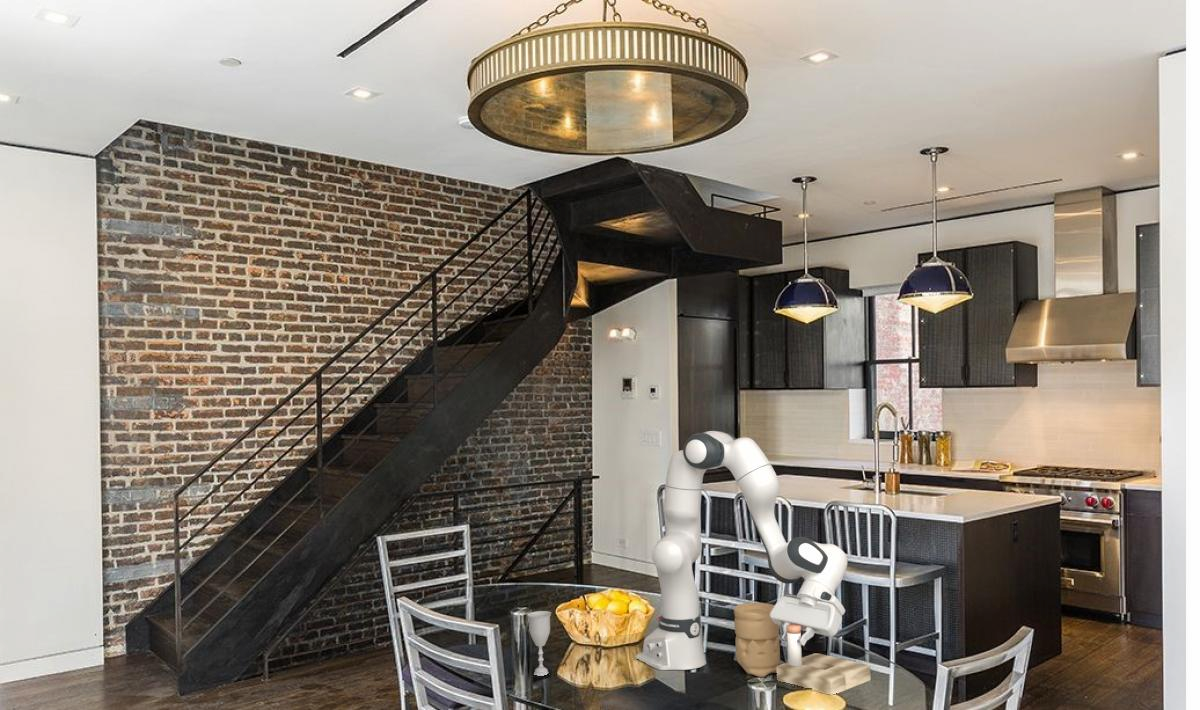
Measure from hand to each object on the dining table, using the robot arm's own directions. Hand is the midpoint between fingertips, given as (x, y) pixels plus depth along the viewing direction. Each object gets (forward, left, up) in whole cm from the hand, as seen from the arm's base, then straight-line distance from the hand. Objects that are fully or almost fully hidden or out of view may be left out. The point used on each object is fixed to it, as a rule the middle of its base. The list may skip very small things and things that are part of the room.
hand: (792, 641), depth 238 cm
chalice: (-63, -37, -14) cm, 74 cm away
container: (-21, +10, -14) cm, 27 cm away
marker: (0, +1, -6) cm, 6 cm away
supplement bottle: (-22, +38, -14) cm, 46 cm away
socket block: (-2, +15, -14) cm, 20 cm away
